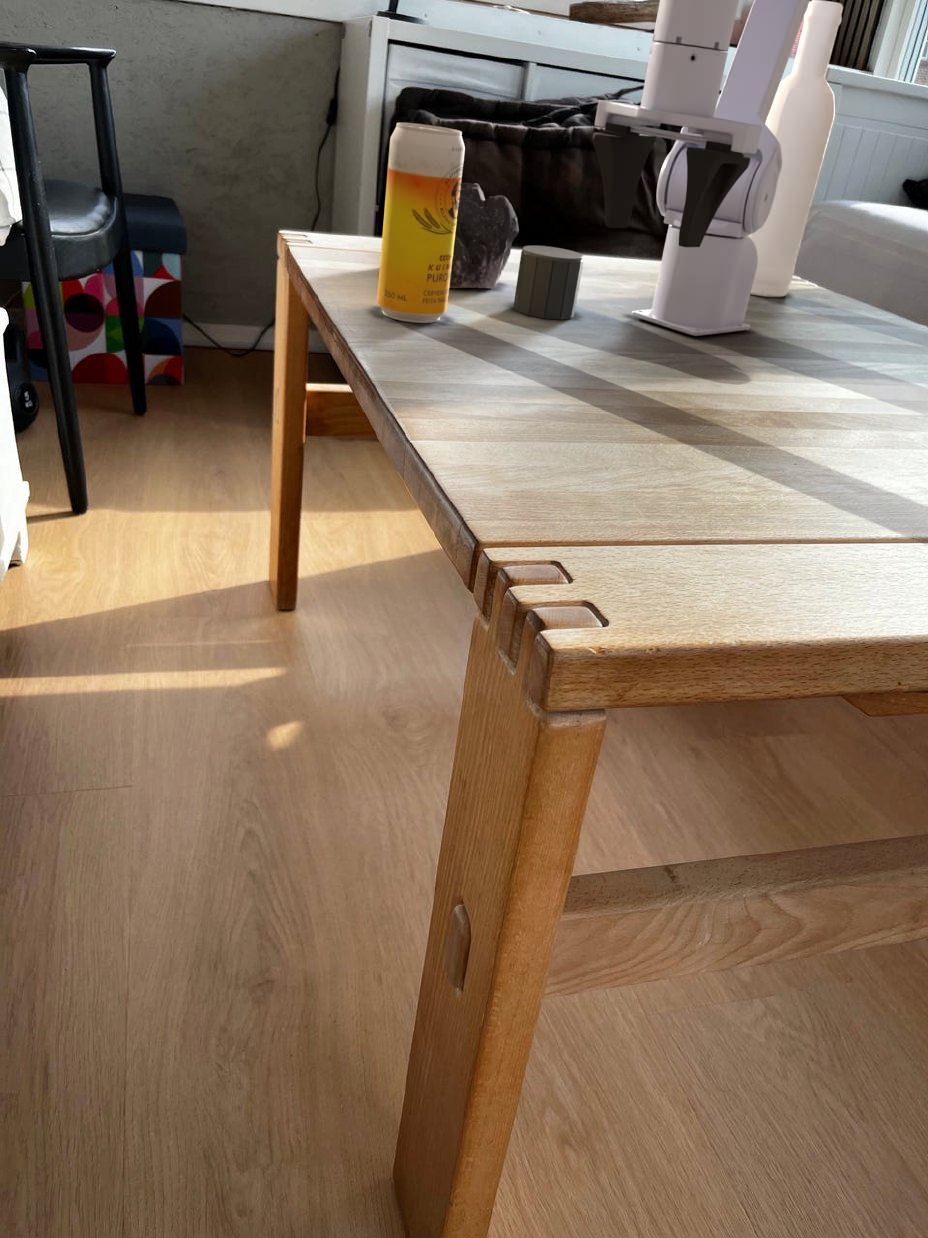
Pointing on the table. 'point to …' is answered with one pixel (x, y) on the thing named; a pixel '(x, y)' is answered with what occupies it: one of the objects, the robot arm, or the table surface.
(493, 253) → the crystal cluster
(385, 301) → the beer can
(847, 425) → the table surface
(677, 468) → the table surface
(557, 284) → the dark grey grooved cylinder
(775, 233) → the bottle
